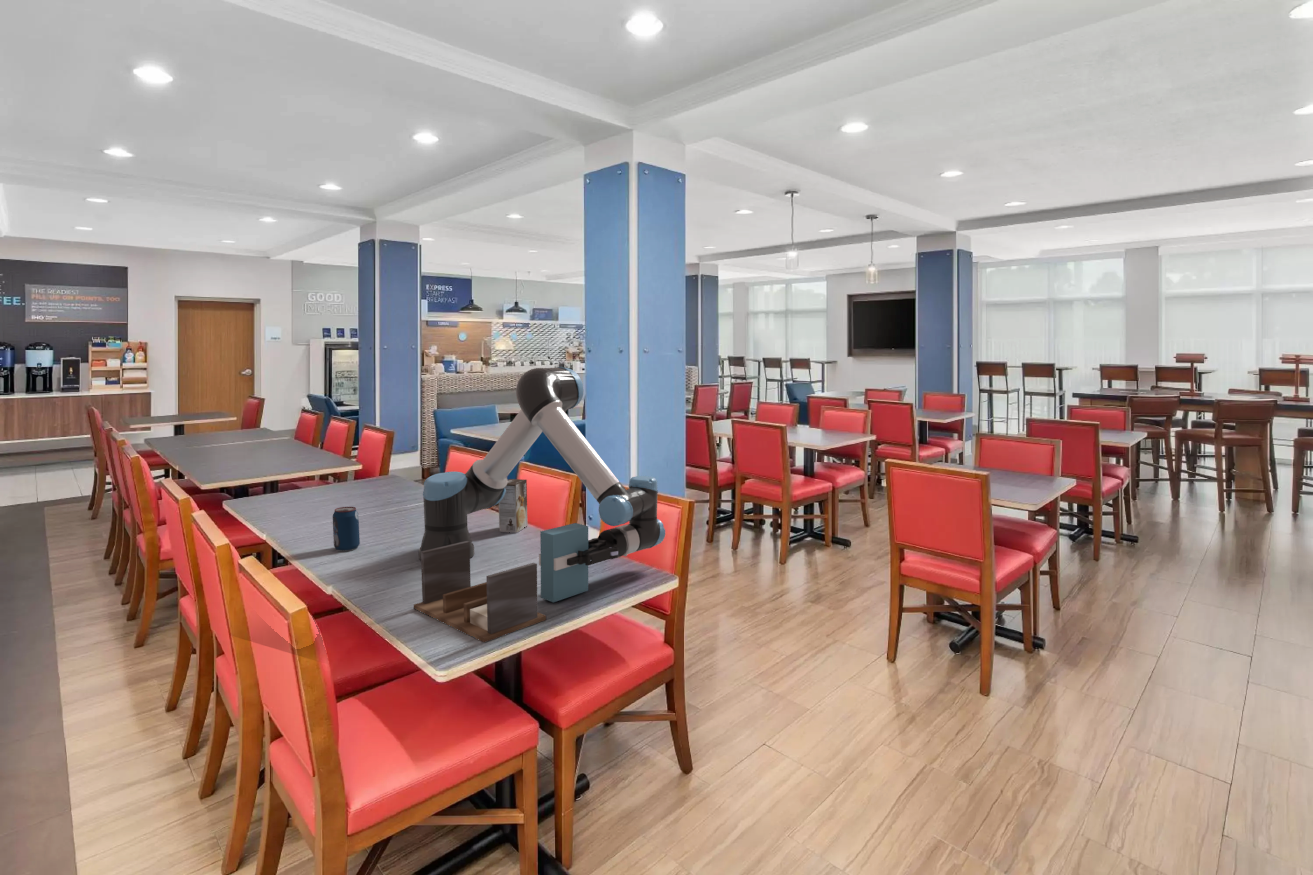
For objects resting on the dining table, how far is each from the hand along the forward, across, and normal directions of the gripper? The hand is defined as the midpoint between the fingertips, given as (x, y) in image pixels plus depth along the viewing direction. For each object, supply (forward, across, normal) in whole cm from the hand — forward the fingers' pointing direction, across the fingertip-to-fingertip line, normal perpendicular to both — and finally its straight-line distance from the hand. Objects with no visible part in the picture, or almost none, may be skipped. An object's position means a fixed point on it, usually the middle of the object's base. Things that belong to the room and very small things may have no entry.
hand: (547, 562), depth 158 cm
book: (-5, 0, -9) cm, 11 cm away
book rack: (+15, +6, -10) cm, 19 cm away
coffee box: (-36, +60, -10) cm, 71 cm away
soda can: (+11, +77, -10) cm, 79 cm away
